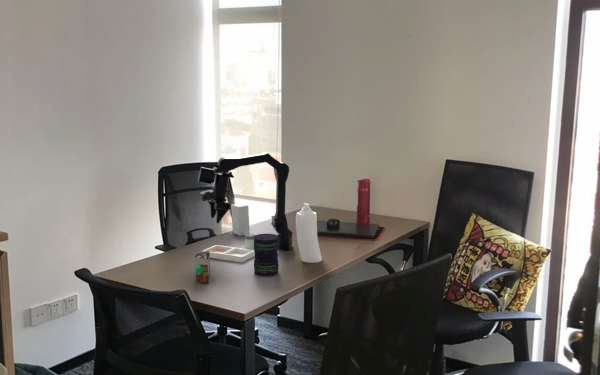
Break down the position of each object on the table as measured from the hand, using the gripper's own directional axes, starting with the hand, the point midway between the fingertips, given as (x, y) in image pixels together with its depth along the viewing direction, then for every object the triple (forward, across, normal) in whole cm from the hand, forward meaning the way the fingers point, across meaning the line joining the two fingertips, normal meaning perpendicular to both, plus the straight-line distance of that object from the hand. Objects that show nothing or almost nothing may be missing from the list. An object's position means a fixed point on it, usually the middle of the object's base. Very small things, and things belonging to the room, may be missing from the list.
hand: (214, 220), depth 271 cm
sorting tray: (+14, +8, +7) cm, 17 cm away
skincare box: (+12, -28, +23) cm, 38 cm away
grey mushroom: (+12, +3, +18) cm, 22 cm away
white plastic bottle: (+7, +26, +36) cm, 45 cm away
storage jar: (+12, +36, +14) cm, 40 cm away
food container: (+17, +35, -12) cm, 40 cm away
